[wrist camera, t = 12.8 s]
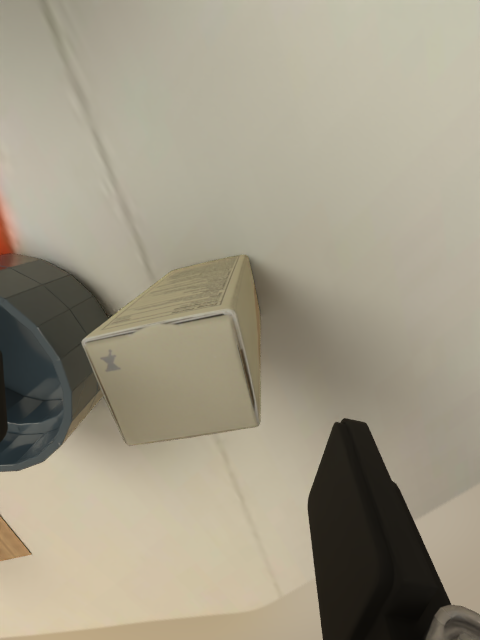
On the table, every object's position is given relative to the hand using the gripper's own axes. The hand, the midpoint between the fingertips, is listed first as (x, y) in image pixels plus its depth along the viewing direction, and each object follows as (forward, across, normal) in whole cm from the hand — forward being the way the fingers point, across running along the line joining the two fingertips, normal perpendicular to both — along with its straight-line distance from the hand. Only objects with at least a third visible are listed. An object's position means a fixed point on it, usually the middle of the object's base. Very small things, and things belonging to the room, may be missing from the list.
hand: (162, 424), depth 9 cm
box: (+13, 0, 0) cm, 13 cm away
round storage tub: (+12, +12, +6) cm, 18 cm away
